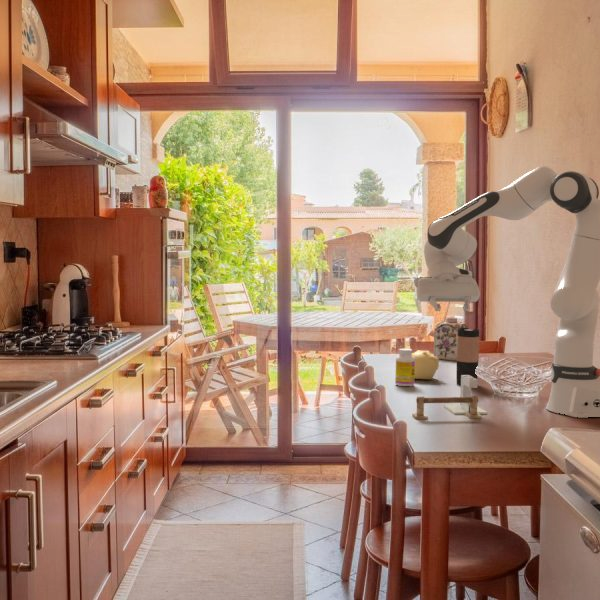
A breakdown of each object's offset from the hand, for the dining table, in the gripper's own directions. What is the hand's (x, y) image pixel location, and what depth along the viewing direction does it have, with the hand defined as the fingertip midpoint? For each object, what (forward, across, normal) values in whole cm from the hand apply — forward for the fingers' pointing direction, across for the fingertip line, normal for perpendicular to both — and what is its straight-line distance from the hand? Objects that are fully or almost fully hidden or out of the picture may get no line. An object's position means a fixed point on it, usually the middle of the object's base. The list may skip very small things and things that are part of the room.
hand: (452, 310), depth 230 cm
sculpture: (-7, +2, +49) cm, 49 cm away
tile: (+29, +1, +12) cm, 32 cm away
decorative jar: (-41, +29, +82) cm, 96 cm away
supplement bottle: (+2, -7, +40) cm, 41 cm away
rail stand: (+35, -8, +7) cm, 36 cm away
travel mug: (+1, +16, +40) cm, 43 cm away
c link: (+31, +1, +10) cm, 32 cm away
